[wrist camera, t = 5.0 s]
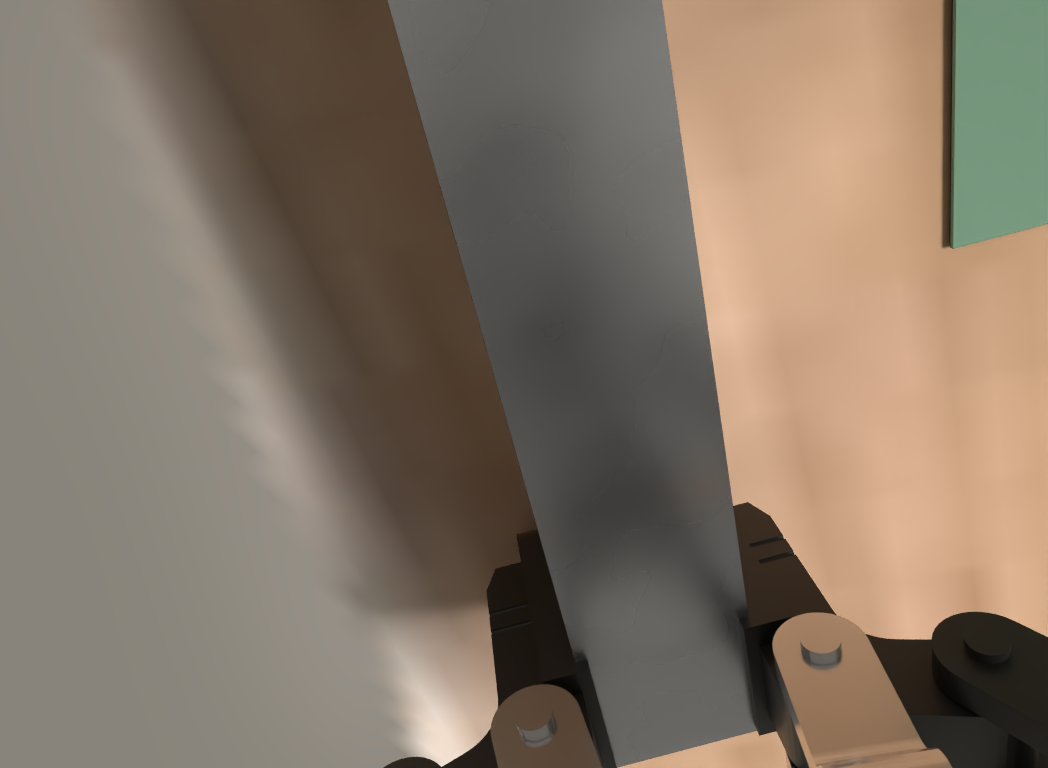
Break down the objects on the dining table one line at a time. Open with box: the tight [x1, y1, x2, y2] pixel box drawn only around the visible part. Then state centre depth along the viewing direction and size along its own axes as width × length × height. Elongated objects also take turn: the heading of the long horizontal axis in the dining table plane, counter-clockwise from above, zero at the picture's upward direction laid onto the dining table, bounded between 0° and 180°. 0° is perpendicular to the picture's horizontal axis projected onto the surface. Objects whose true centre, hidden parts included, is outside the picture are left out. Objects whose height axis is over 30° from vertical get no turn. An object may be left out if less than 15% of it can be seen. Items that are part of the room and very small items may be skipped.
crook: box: [387, 0, 757, 767], centre depth 10 cm, size 16×8×4 cm, turn 13°
